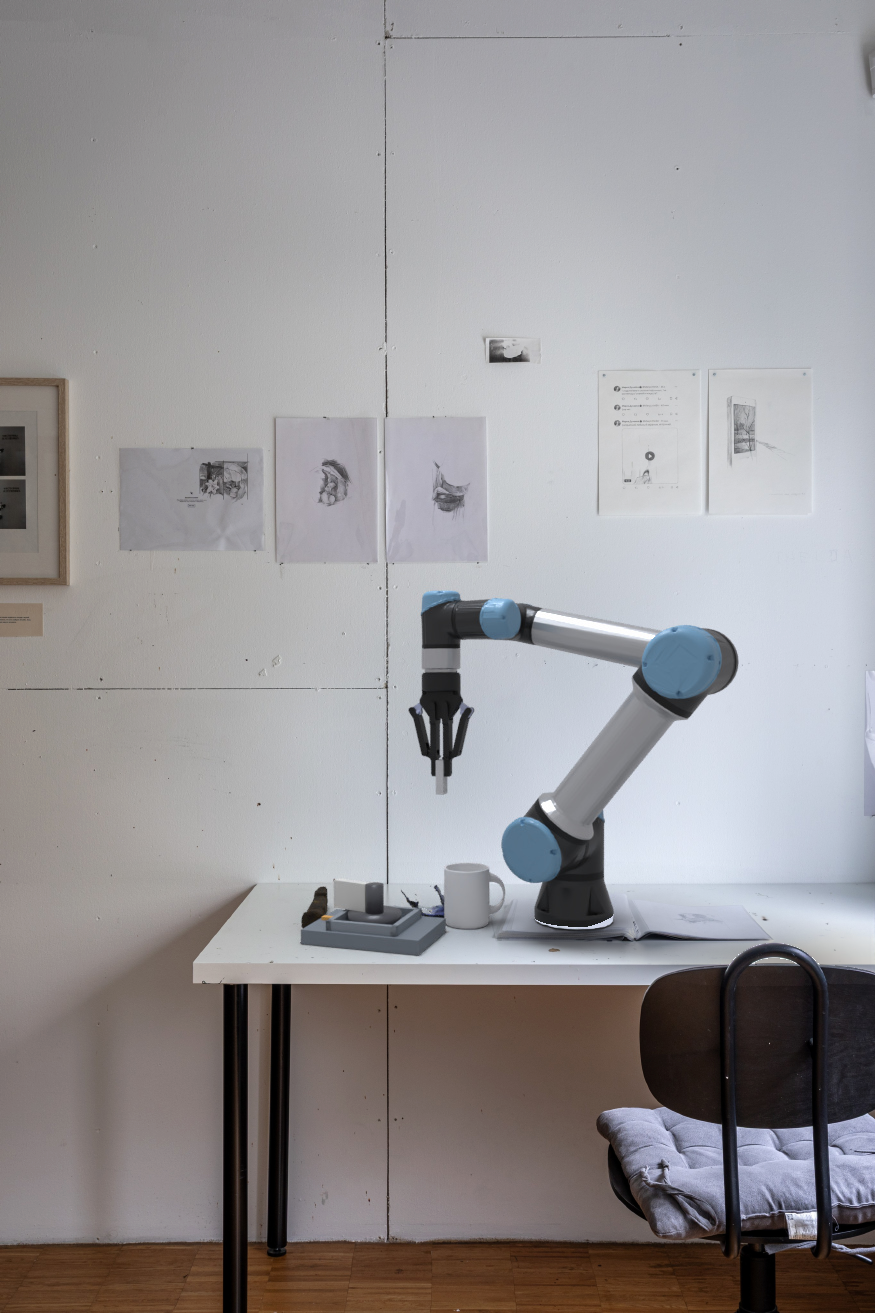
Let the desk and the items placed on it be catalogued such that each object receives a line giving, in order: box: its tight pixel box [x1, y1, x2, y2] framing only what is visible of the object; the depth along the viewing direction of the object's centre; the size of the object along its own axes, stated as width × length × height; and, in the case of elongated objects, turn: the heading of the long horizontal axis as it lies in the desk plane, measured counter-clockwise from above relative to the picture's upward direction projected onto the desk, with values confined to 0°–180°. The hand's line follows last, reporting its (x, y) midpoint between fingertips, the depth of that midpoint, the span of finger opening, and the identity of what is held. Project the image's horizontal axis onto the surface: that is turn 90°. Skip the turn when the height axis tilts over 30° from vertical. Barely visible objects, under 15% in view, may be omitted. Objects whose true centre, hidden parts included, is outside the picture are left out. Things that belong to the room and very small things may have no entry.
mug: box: [443, 862, 506, 930], centre depth 178 cm, size 9×12×11 cm
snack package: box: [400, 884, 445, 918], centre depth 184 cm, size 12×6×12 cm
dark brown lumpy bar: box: [300, 885, 329, 929], centre depth 182 cm, size 19×4×5 cm, turn 178°
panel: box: [300, 904, 447, 956], centre depth 168 cm, size 22×15×4 cm
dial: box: [333, 877, 401, 925], centre depth 169 cm, size 13×10×7 cm
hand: (441, 793), depth 180 cm, fingers closed
